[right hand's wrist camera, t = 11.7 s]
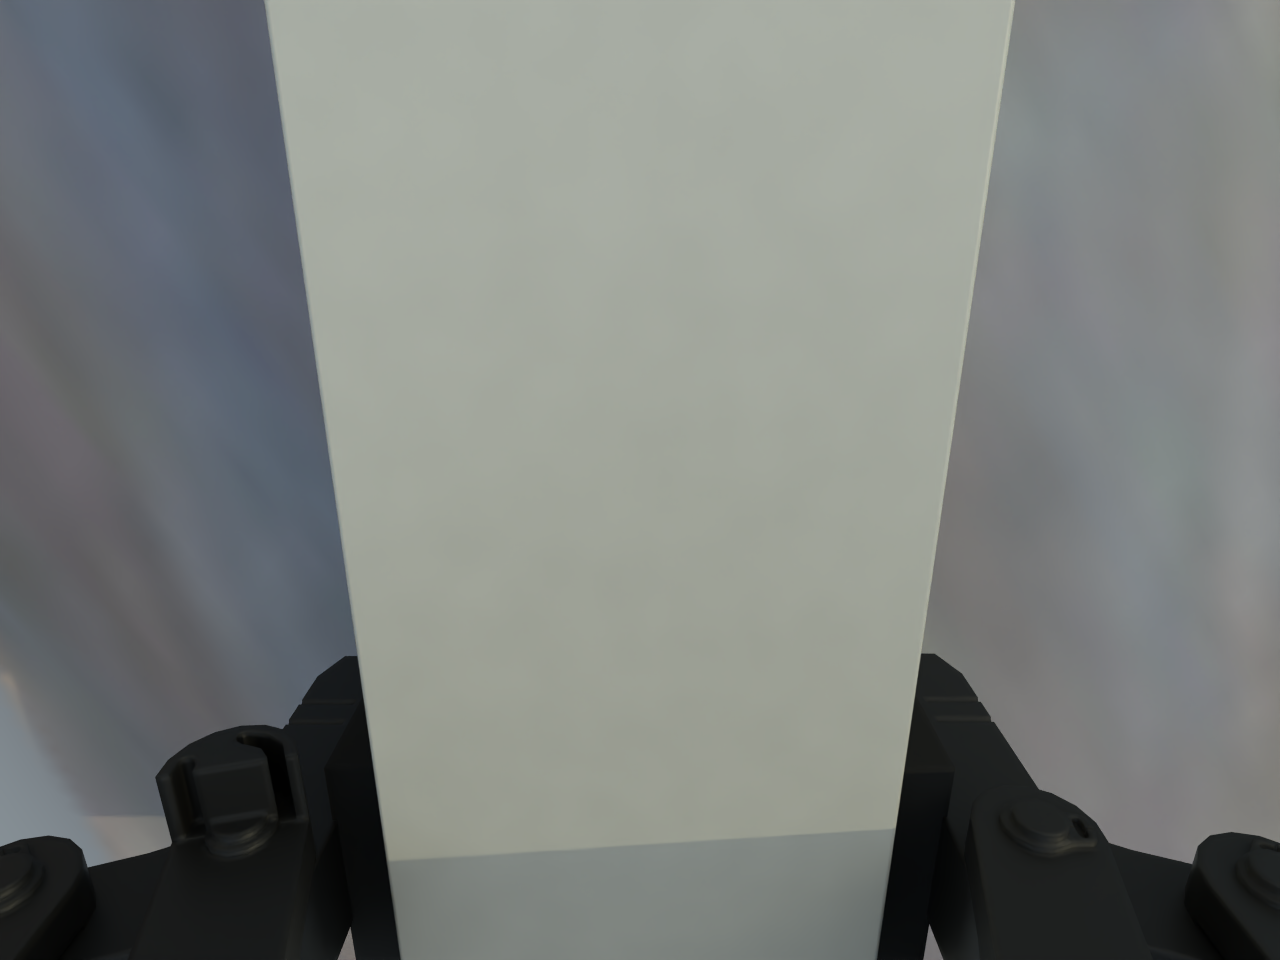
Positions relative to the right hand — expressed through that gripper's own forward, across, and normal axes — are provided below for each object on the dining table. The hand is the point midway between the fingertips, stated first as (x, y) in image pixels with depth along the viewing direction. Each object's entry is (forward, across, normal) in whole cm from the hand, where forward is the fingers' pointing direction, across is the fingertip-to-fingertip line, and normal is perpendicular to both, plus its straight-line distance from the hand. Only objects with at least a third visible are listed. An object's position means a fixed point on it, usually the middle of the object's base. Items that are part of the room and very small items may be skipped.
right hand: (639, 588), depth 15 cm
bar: (+1, 0, -28) cm, 28 cm away
